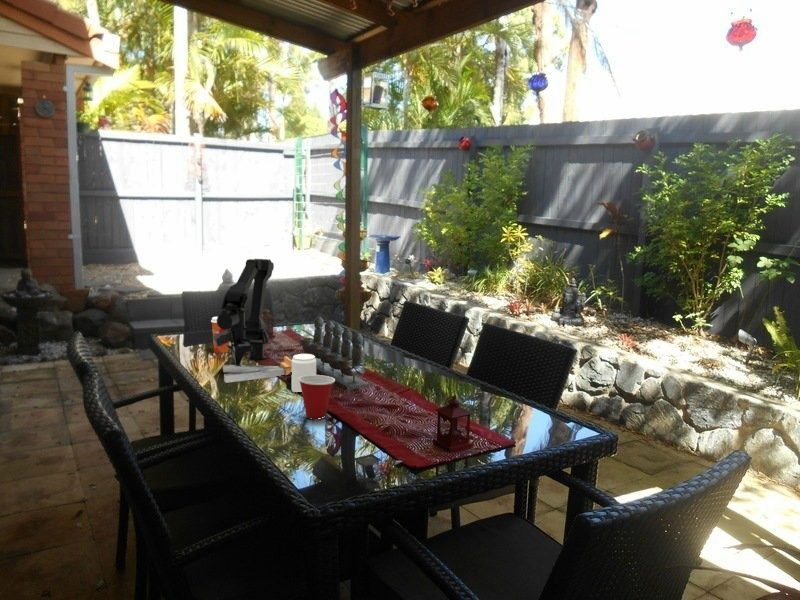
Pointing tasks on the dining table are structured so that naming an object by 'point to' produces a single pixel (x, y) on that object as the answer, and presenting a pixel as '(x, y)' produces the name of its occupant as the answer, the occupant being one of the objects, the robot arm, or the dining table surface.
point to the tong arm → (245, 368)
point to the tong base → (254, 375)
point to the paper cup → (217, 330)
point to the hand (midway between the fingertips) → (237, 365)
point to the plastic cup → (316, 394)
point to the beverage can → (302, 369)
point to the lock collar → (287, 365)
